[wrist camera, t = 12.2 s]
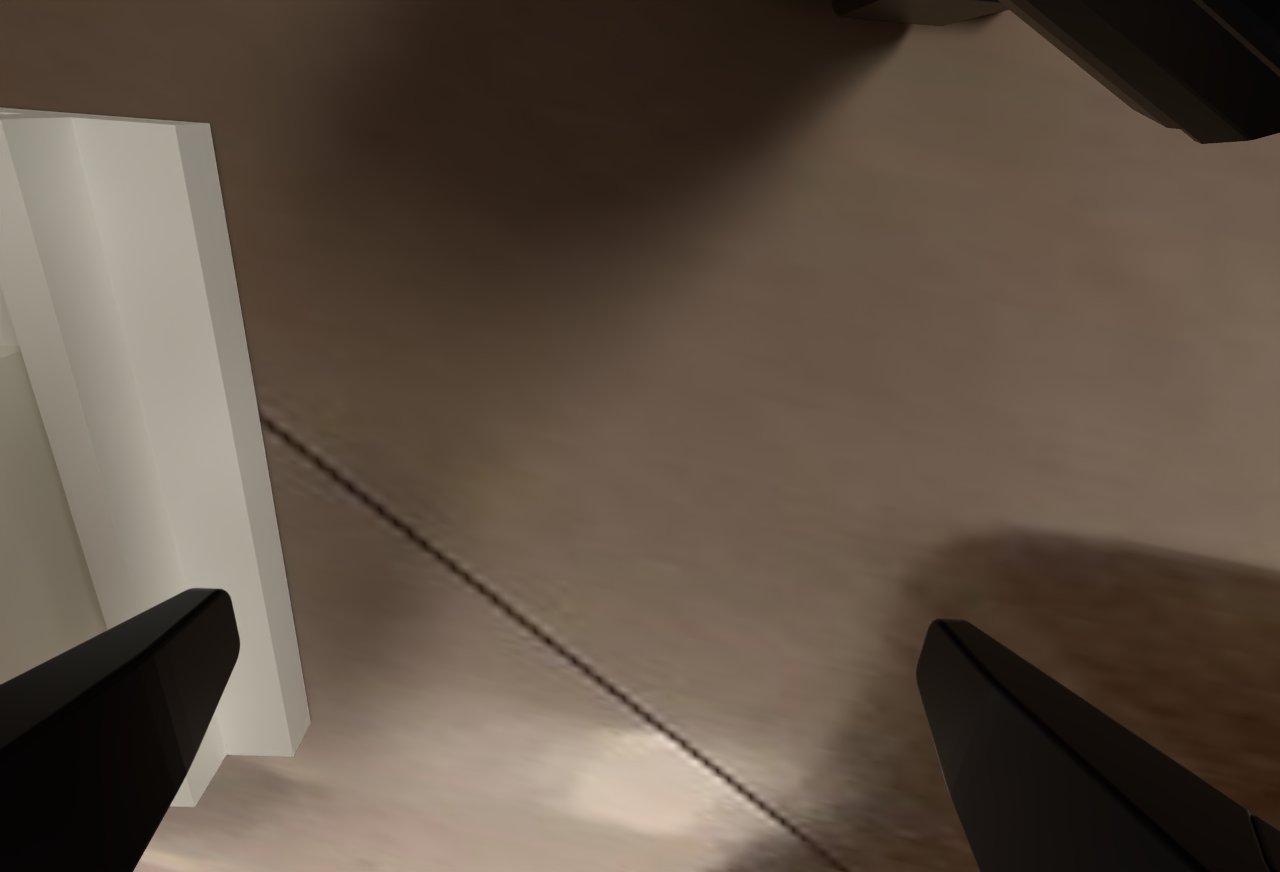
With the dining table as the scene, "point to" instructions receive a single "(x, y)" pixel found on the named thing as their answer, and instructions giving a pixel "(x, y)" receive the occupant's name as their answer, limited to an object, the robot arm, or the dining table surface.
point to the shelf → (150, 391)
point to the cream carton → (36, 538)
